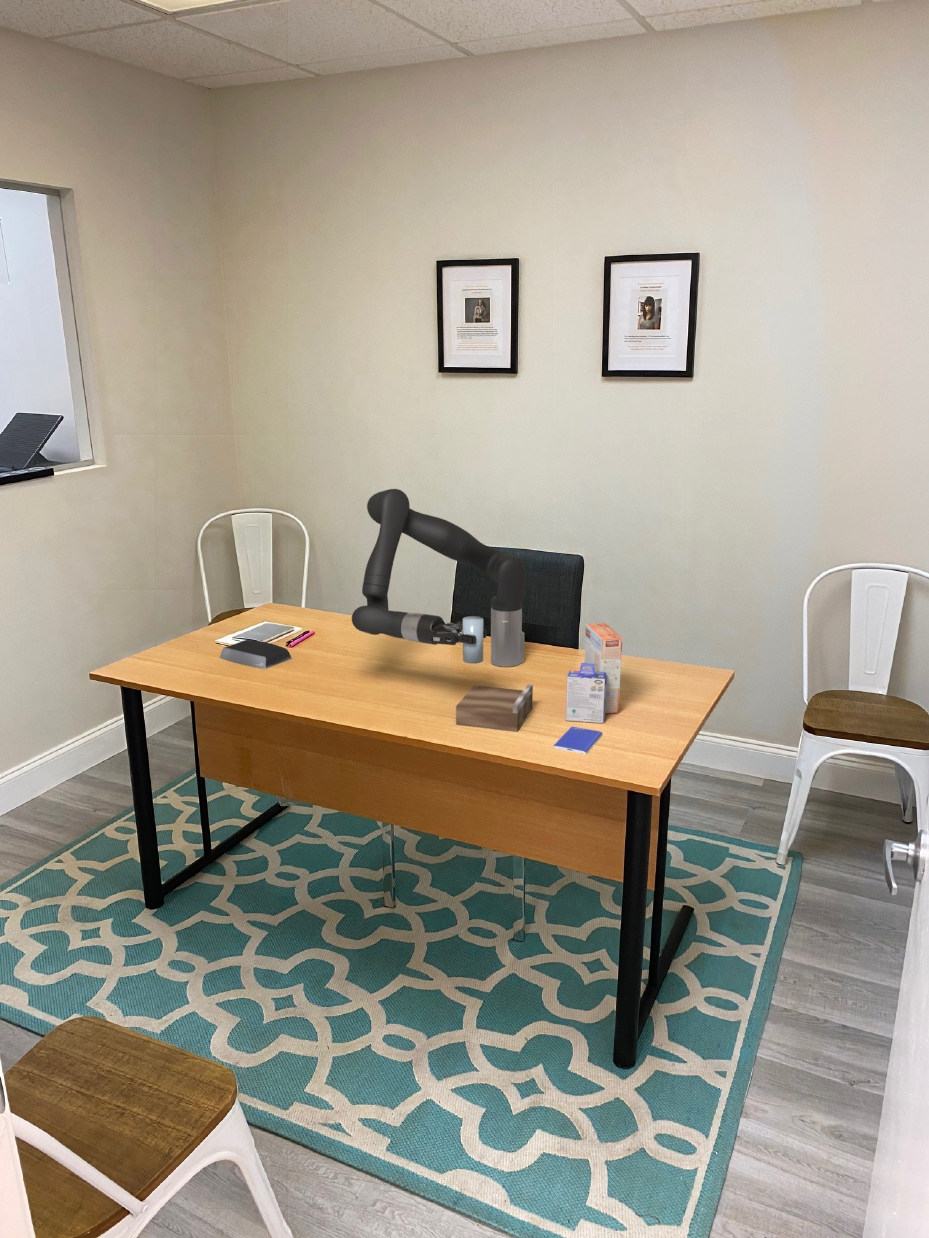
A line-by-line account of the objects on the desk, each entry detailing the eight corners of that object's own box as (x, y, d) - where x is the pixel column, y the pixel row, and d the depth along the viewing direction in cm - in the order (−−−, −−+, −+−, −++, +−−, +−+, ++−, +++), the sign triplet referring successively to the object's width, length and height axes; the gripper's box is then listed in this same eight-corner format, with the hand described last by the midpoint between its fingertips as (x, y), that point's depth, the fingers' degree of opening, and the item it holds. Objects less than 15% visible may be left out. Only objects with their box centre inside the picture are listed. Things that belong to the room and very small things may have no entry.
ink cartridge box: (605, 716, 243) (607, 663, 239) (604, 724, 238) (606, 670, 234) (567, 713, 245) (568, 660, 241) (565, 721, 240) (566, 667, 236)
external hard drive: (263, 671, 278) (262, 658, 277) (217, 660, 288) (216, 647, 287) (293, 659, 289) (293, 647, 288) (248, 648, 299) (248, 636, 298)
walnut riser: (474, 702, 252) (474, 677, 250) (532, 708, 248) (532, 684, 246) (456, 724, 238) (455, 698, 236) (517, 731, 233) (517, 705, 231)
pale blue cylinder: (468, 655, 243) (468, 615, 240) (486, 658, 241) (486, 617, 237) (459, 661, 239) (459, 620, 235) (477, 664, 236) (477, 622, 233)
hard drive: (570, 725, 234) (553, 744, 223) (602, 731, 231) (586, 750, 220) (570, 731, 234) (553, 750, 224) (602, 737, 231) (586, 756, 220)
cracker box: (619, 713, 244) (623, 637, 238) (597, 715, 243) (600, 638, 237) (603, 694, 257) (606, 621, 252) (582, 696, 257) (584, 623, 251)
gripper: (408, 621, 237) (467, 630, 230) (436, 607, 249) (493, 615, 242) (408, 649, 239) (467, 659, 232) (436, 634, 252) (493, 643, 244)
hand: (480, 637), depth 237 cm, fingers closed on pale blue cylinder, 5 cm apart
